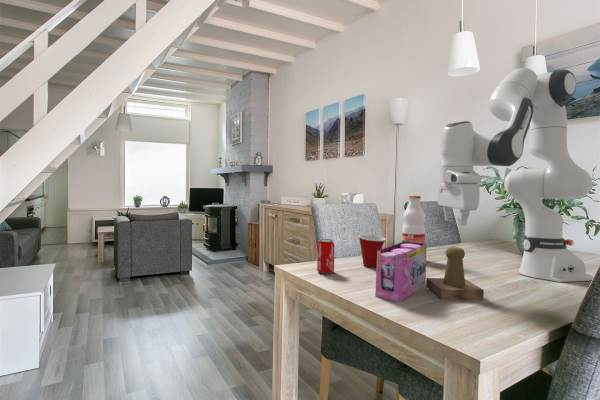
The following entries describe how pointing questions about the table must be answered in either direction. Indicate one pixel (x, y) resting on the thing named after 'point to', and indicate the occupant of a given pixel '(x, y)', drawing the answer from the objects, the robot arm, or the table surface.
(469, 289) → the walnut block
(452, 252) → the cork
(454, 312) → the table surface
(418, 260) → the gum box
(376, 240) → the plastic cup
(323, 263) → the soda can
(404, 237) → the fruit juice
